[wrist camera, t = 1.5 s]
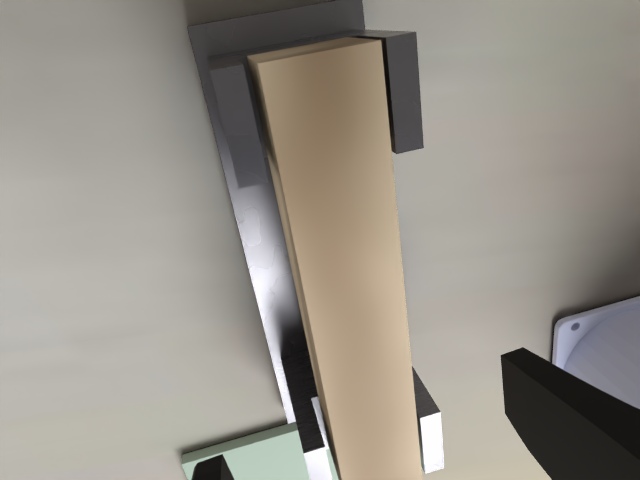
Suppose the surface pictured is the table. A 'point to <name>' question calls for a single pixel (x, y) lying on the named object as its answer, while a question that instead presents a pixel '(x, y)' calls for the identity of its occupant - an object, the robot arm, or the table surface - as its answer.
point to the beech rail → (344, 245)
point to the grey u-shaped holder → (260, 198)
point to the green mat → (260, 456)
